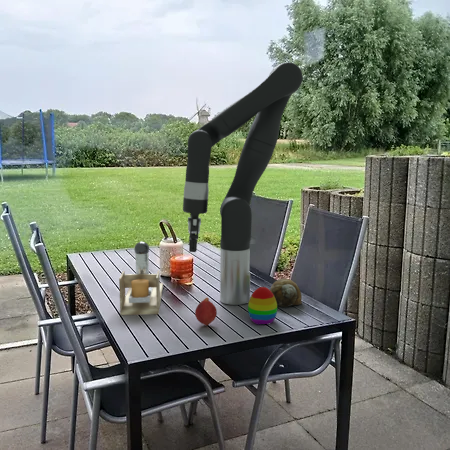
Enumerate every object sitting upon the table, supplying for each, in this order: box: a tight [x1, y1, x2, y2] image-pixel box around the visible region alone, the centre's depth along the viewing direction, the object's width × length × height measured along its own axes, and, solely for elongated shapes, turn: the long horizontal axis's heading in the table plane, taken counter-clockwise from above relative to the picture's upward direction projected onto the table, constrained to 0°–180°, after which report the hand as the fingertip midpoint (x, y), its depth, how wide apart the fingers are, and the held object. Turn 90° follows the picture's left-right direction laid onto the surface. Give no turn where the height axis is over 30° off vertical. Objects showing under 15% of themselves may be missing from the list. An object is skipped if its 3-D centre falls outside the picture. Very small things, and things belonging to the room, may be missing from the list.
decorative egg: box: [247, 286, 278, 325], centre depth 128 cm, size 8×8×10 cm
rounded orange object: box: [131, 279, 149, 297], centre depth 135 cm, size 5×5×4 cm
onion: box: [194, 297, 217, 327], centre depth 125 cm, size 6×6×8 cm
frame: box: [118, 270, 164, 316], centre depth 145 cm, size 11×26×11 cm, turn 5°
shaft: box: [129, 241, 153, 303], centre depth 138 cm, size 6×13×16 cm, turn 5°
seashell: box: [269, 277, 303, 308], centre depth 142 cm, size 11×9×8 cm
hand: (192, 248), depth 142 cm, fingers open, 8 cm apart
